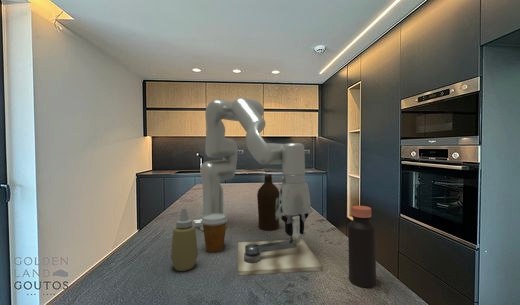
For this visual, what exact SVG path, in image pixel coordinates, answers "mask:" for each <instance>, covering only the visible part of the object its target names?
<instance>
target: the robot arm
mask: <svg viewBox="0 0 520 305" xmlns="http://www.w3.org/2000/svg"><path fill="white" fill-rule="evenodd" d="M264 113H265V110H264V106H263V105H262V103H261V102H260V101H258V100H256V99H251V98H247V97H246V98H245V97H238V98H236V99H235V100H233V101H231V100H225V99H212V100H211V101H210V102H209V103H207V106H206V108H205V121H206V134H205V135H206V136H205V145H204V146H205V147H204V148H205V155H206V156H207V157H208V158H210V159H211V158H214V159H216V160H207V161H205V162H203V163H202V164H201V165H200V169H199V172H200V174H199V175H200V178H201V183H202V184H201V186H202V217H203V216H204V215H207V214H213V213H221V214H225V212H224V189H223V185H222V183H221V182H220V181H224V180H231V179H232V178H233V177H235V174H236V171H237V160H238V151H239V150H238V149H239V148H238V144H237V143H236V141H235V140H234V139H232V138H229V137H226V136H225V135H226V126H225V124H224V122H223V121H222V120H225V121H232V122H238V123H239V124H240V126H241V127H242V128H243V130H244V131H245V133H246V134H245V143H246V144H245V145H246V148H247V150H248V152H249V153H250V155H251V156H252V157H253V158H254V160H255V161H256V162H258V163H259V164H260V165H263V166H269V165H270V166H271V165H281V167H282V168H281V169H282V174H281V176H279V177H278V181H280V182H281V184H280V187H279V208H278V209H277V211H276V213H275V215H276V216H277V217H279V219H281V220H282V221H283V222H284V232H285V233H286V235H287V236H292V224H290V221H291V215H298V214H299V216H300V235H304V231H305V222H306V221H307V220H306V219H307V218H308V217H309V216H310V215H311V214H312V213H313V209H312V207H311V195H310V190H309V186H308V183H307V182H306V174H305V173H306V167H305V165H306V160H305V158H306V157H305V155H306V154H305V146H304V144H303V143H300V142H291V143H290V142H289V143H277V142H274V143H273V142H269V143H268V142H266V141H265V140H264V138H263V137H262V135H261V132H263V131H264V129H265V128H266V120H265V119H264V117H263V115H264ZM219 158H220V159H221V160H220V159H219ZM201 220H202V218H200V219H198V218H196V219H193V224H195V225H199V230H200V231H203V232H204V230H203V224H202V222H201ZM226 228H228V224H227V223H226Z"/></svg>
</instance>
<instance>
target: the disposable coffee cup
mask: <svg viewBox="0 0 520 305" xmlns="http://www.w3.org/2000/svg"><path fill="white" fill-rule="evenodd" d="M227 217H228V216H227V214H226V213H224V214H221V213H213V214H207V215H204V216H203V215H202V218H201V219H202V220H201V222H202V224H203V230H204V231H203V235H204V243H205V250H206V252H209V253H218V252H221V251H223V250H224V245H225V238H226V229H227V227H226V224H227V222H228V219H229V218H227Z"/></svg>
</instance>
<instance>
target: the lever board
mask: <svg viewBox="0 0 520 305" xmlns="http://www.w3.org/2000/svg"><path fill="white" fill-rule="evenodd" d="M283 241H290V239H284V240H280V239H279V240H262V241H241V242H239V241H238V242H237V276H247V275H249V276H250V275H251V276H252V275H268V274H283V273H300V272H301V273H302V272H316V271H317V272H320V271H323V270H324V269H323V265H322V264H321V262H320V261H319V259H318V258H317V257H316V256H315V254H314V253H313V251H312V250H311V249H310V247H309V246H308V244H307V243H306V242H305V240H304V239H301V238H300V243H297V247H296V248H289V249H283V250H276V251H269V252H262V253H259V254H258V255H255V256H248V255H246V254H245V246H246V245H248V244H257V245H261V244H268V243H276V242H283Z"/></svg>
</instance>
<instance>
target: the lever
mask: <svg viewBox="0 0 520 305" xmlns="http://www.w3.org/2000/svg"><path fill="white" fill-rule="evenodd" d="M290 224H292V236H289V235H288V236H289V239H288V240H290V241H283V242H276V243H268V244H261V245H257V244H248V245H246V246H245V254H246V255H248V256H255V255H258V254H259V253H262V252H269V251H276V250H283V249H289V248H296V247H297V243H300V240H301V234H300V216H299V214H298V215H291V221H290Z"/></svg>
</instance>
